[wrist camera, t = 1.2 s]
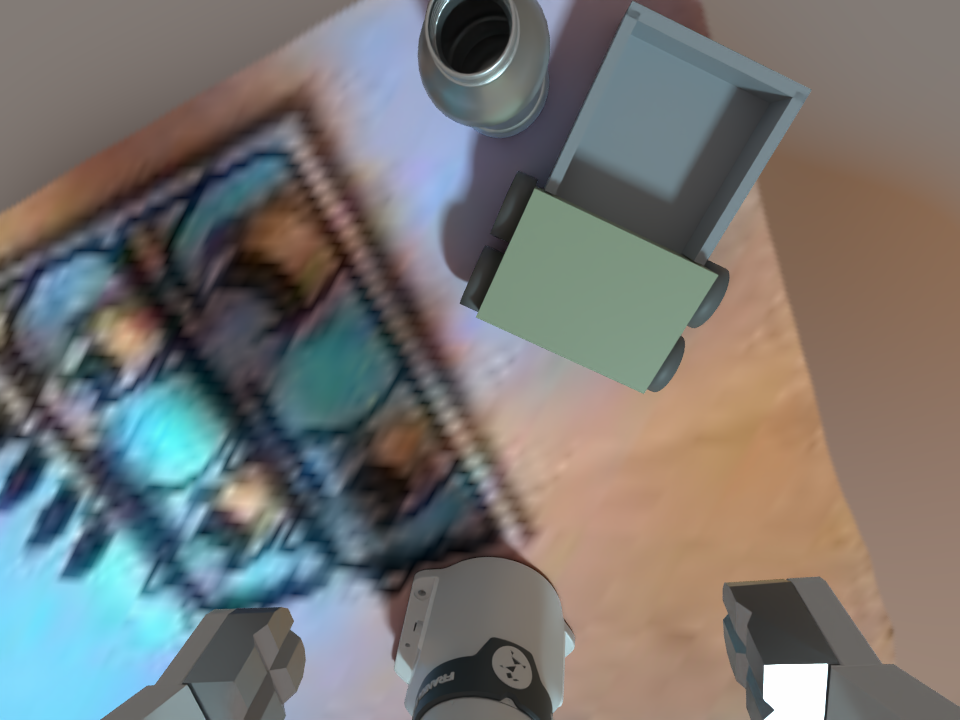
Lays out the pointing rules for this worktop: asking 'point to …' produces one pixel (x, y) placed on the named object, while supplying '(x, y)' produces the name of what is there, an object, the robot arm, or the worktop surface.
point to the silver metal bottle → (486, 62)
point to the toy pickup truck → (636, 204)
